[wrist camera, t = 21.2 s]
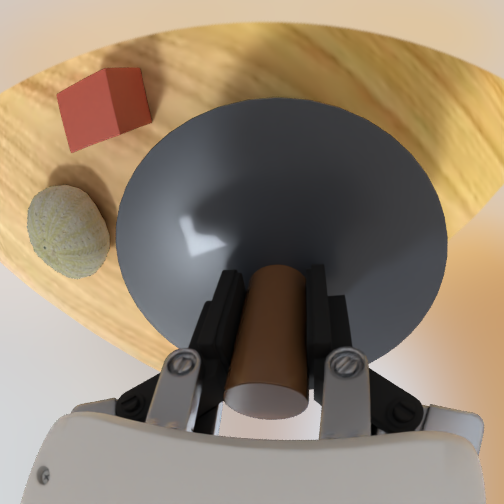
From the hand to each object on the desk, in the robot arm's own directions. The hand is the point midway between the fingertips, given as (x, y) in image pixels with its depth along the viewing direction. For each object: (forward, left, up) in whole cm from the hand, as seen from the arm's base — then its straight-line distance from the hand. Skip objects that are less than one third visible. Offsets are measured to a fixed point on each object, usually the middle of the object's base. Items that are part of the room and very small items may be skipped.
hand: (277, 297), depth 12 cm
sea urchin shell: (-17, -9, -10) cm, 22 cm away
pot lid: (0, 0, -1) cm, 1 cm away
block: (-14, +3, -10) cm, 17 cm away
